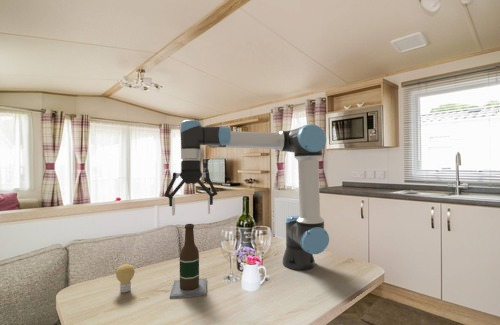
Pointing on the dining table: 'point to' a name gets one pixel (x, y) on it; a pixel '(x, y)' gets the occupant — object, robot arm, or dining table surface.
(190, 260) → the beer bottle
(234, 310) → the dining table surface
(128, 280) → the light bulb
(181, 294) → the plate
